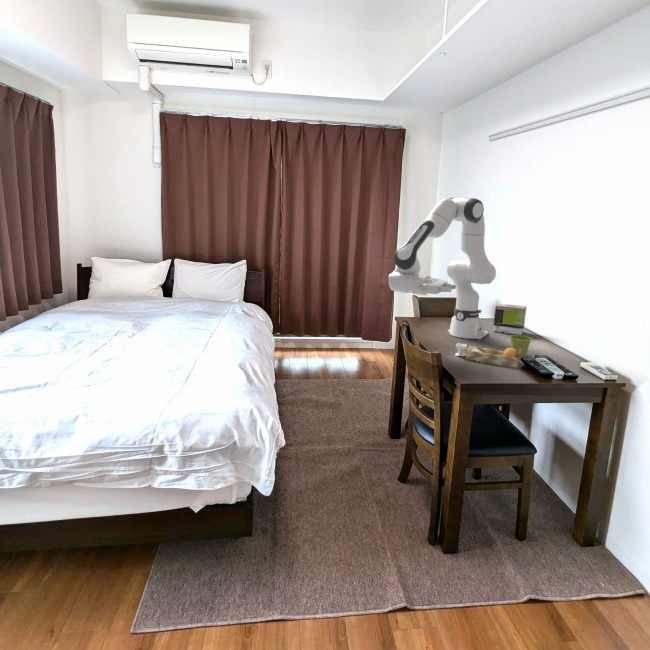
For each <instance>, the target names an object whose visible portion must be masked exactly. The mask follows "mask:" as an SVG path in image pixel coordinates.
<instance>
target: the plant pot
mask: <svg viewBox="0 0 650 650" xmlns="http://www.w3.org/2000/svg"><path fill="white" fill-rule="evenodd" d="M509 338H510V342H511V343H510V344H511V346H510V348H514V349H515V350H517V352H519V348H522V352H521V358H522V357H524V358H526V356H527V354H528V349H529V347H530V344H531V342H532V340H533V338H532V337H530V336H526V335H517V334H511V335H510V336H509Z"/></svg>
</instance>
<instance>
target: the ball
mask: <svg viewBox="0 0 650 650" xmlns="http://www.w3.org/2000/svg"><path fill="white" fill-rule="evenodd" d="M503 351H504V353H503V356H507V357H513V358H517V357H518V352H517V350H515V349H514V348H511V347H507V348H506V349H504V350H503Z"/></svg>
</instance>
